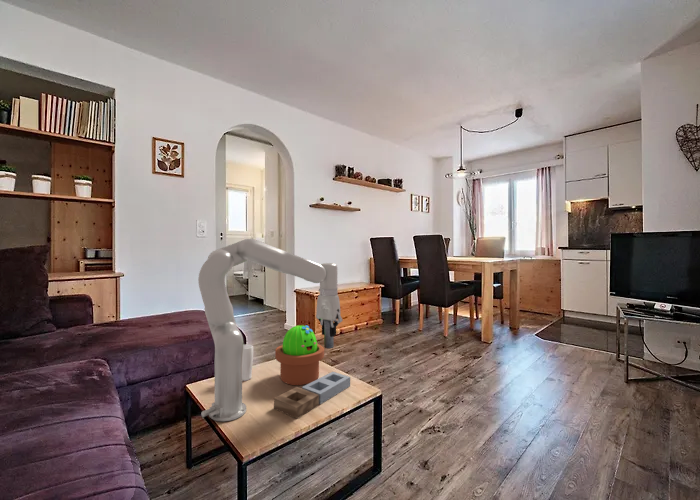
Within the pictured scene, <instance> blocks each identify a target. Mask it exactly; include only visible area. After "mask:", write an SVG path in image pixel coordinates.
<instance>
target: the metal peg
mask: <svg viewBox="0 0 700 500" xmlns="http://www.w3.org/2000/svg"><path fill="white" fill-rule="evenodd" d="M330 327H331V321H329V320H324V335H323V345H324V346H323V347H324V349H333V348H334V345H335V343H334V342H335V341H334V340H335V338H334V337H335V336H333V337H330Z"/></svg>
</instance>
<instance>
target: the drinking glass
mask: <svg viewBox="0 0 700 500" xmlns="http://www.w3.org/2000/svg"><path fill="white" fill-rule="evenodd" d="M253 359H254V345H252V344H250V343H247V344H245V343H244V344H243V355H242V382H245V381H249V380H251V379H252V375H253V374H252V372H253V362H254V361H253Z"/></svg>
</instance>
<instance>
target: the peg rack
mask: <svg viewBox="0 0 700 500" xmlns="http://www.w3.org/2000/svg"><path fill="white" fill-rule="evenodd" d="M349 387H351V376H348V375H345V374H341V373H339V372H335V371H331V372H329V373H327V374H325V375H323V376H321V377H318V379H317V380H315V381H313V382H311V383H309V384H305V385H302V386H301V389H304V390H307V391H309V392H312V393H315V394H317V395H319V405H322V404H323V403H325V402H326V401H328V400H330V399H332V398H333V397H335V396H336V395H338V394H340V393H341V392H343V391H344V389H345V390H346V389H348V388H349Z"/></svg>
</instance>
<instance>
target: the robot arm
mask: <svg viewBox="0 0 700 500" xmlns="http://www.w3.org/2000/svg"><path fill="white" fill-rule="evenodd" d="M247 261H248V262H250V263H254V264H256V265H259V266H262V267H264V268H267V269H270V270H273V271H276V272H279V273H282V274H286V275H287V274H288V275H290V276H294V277H297V278H299V279H303V280H304V281H307V282H311V283H313V284H319V289H318V292H319V295H318V296H317V300H316V315H315V318H316V319H317V320H318V321H319V323H320V326H321V335H322V336H324V320H329V321H331V327H330V337H333V336H334V337H335V336H337V326H338V325H339V324H341V323H342V322H343V318H342V316H341V302H340V298H339V295H338V293H339V291H338V265H337V264H336V263H333V262H325V263H317V262H314V261H311V260H309V259H307V258H303V257H301V256H298V255H296V254H293V253H292V252H289V251H286V250H284V249H281V248H278V247H277V246H276V247H275V246H273V245H271V244H268V243H266V242H262V240H261V241H260V240H258V239H254V238H245V239H241V240H240V241H237V242H234V243H232V244H229V245H227V246H223V247H221V248H218V249H215V250H212V252H210V253H209V255H208V256H207V259H206V260H205V262H203V264H202V265H201V268H200V269H199V270H200V271H199V273H198V287H199V291H200V294H201V299H202V302H203V305H204V306H203V307H204V314H205V316H206V321H207V324H208V327H209V330H210V332H211V336H212V340H213V343H214V402H212V403H211V406H210V407H209V408H208V409H205V410H203V411H201V417H202V418H205V417H207V416H208V417H209V418H210V419H211V420H212V421H215V422H229V421H235V420H237V419H239V418H241V417H242V416H244V414H245V413H246V412H247V405H246V403H244V402H243V381H242V355H243V345H244V337H243V334H242V332H241V331H240V329H239V328H238V325H237V322H236V319H235V316H234V307H233V304H232V303H231V300H230V297H229V294H228V289H227V285H226V280H225V279H226V276H227V274H228V272H230V271H231V270H232V269H233V267H236V266H238V265H242V264H243V263H246V262H247Z"/></svg>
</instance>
